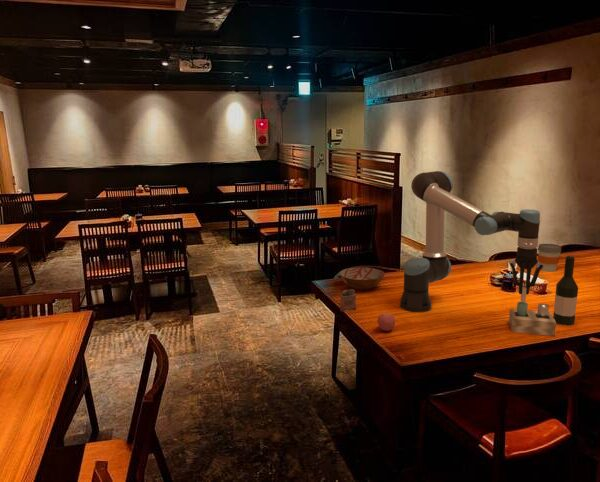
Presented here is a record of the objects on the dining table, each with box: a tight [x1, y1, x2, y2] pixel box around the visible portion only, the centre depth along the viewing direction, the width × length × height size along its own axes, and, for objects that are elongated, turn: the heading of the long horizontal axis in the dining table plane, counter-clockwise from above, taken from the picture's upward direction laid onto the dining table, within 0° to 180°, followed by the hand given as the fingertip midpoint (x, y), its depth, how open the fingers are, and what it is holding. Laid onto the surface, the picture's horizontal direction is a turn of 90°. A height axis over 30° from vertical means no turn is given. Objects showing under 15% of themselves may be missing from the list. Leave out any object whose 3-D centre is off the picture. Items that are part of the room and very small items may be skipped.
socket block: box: [508, 308, 557, 337], centre depth 198 cm, size 16×12×6 cm
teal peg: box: [516, 301, 529, 317], centre depth 198 cm, size 4×4×6 cm
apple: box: [377, 312, 396, 332], centre depth 199 cm, size 7×7×8 cm
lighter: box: [339, 288, 357, 312], centre depth 224 cm, size 8×3×10 cm, turn 105°
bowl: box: [338, 266, 386, 291], centre depth 259 cm, size 25×25×8 cm
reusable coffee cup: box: [537, 243, 562, 273], centre depth 283 cm, size 12×12×15 cm
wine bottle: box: [552, 254, 579, 326], centre depth 202 cm, size 8×8×30 cm
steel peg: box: [537, 302, 550, 319], centre depth 195 cm, size 4×4×6 cm
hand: (522, 301), depth 197 cm, fingers closed
